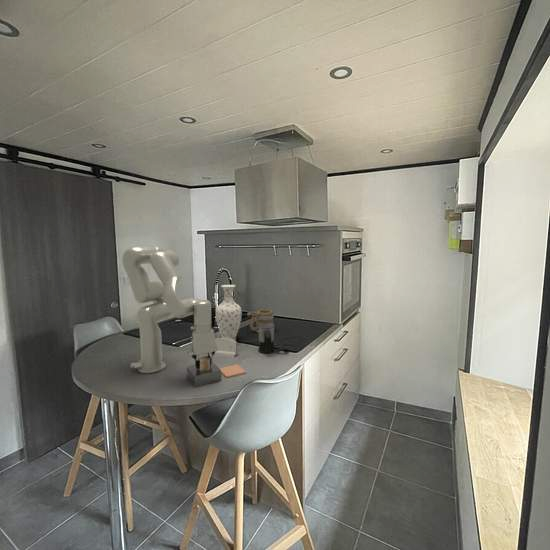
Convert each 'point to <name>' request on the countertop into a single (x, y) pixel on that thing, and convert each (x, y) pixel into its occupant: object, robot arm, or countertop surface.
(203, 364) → the peg
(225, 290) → the vase
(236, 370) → the mat
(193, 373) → the grey slotted holder
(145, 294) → the robot arm
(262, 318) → the tankard
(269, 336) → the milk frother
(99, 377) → the countertop surface
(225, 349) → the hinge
